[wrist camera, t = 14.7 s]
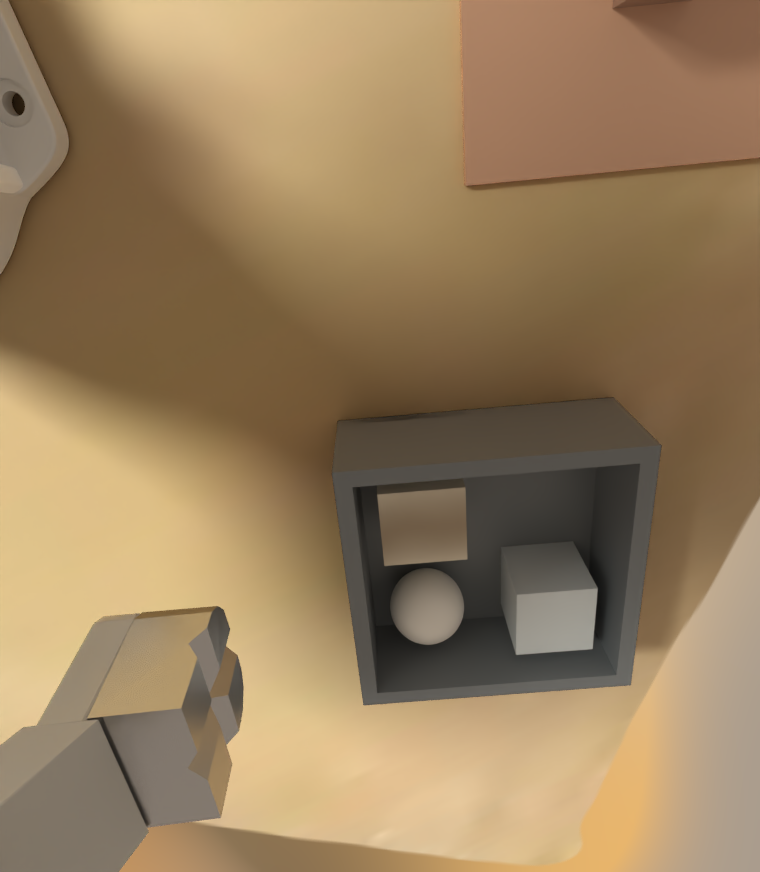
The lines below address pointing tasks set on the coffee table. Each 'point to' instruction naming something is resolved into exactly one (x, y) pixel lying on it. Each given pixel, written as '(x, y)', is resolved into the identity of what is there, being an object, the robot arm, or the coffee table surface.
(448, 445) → the storage box
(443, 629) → the off-white ball
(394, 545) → the birch cube
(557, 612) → the grey-blue cube
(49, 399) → the coffee table surface
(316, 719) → the coffee table surface
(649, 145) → the lid
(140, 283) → the coffee table surface
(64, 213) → the coffee table surface
